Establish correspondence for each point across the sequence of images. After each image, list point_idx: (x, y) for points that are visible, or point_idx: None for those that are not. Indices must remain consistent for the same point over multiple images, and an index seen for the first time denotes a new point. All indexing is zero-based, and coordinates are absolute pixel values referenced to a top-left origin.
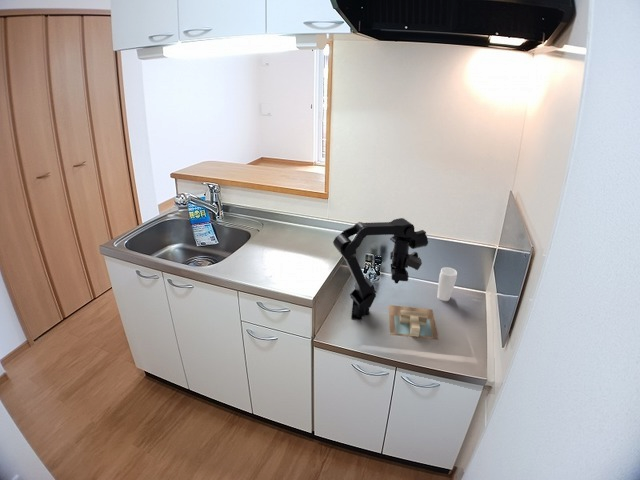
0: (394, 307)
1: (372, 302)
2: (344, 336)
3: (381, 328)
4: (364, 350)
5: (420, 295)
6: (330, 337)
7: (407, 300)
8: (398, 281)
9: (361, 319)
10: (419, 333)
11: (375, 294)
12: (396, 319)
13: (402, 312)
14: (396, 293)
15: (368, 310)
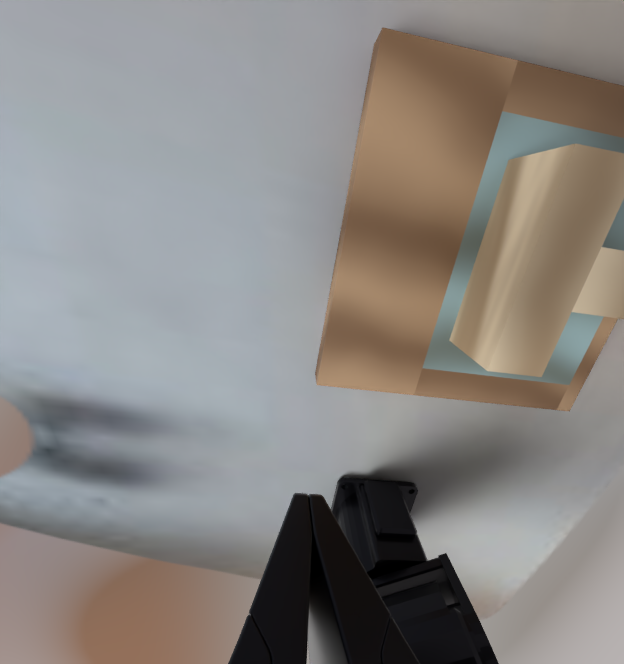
0: (344, 354)
1: (461, 585)
2: (497, 555)
3: (481, 427)
4: (592, 498)
5: (130, 80)
6: (491, 591)
7: (223, 228)
8: (344, 534)
9: (410, 505)
10: (618, 243)
11: (476, 650)
12: (461, 360)
13: (519, 363)
14: (143, 295)
15: (412, 521)
